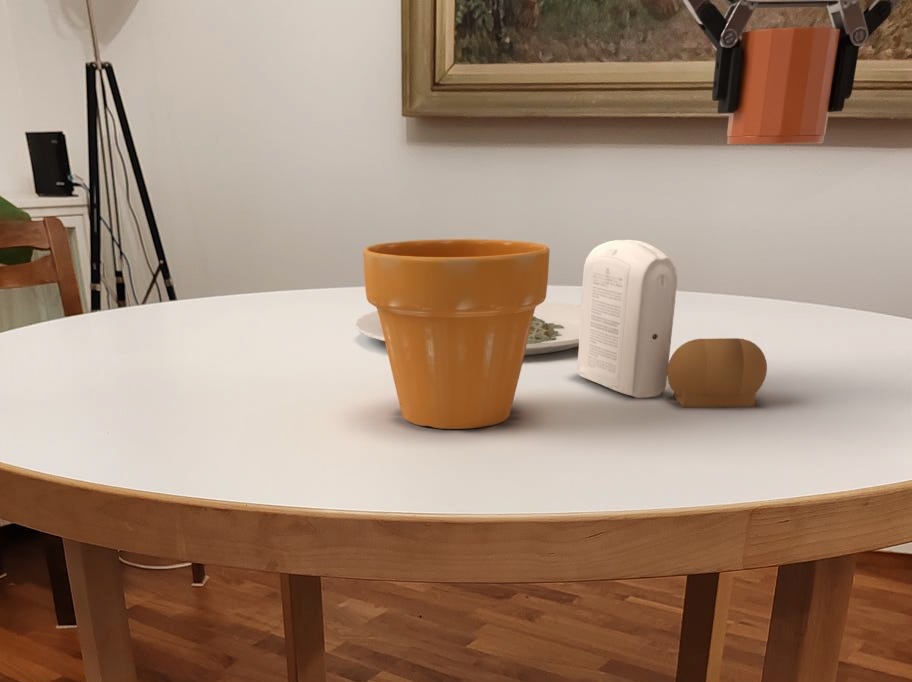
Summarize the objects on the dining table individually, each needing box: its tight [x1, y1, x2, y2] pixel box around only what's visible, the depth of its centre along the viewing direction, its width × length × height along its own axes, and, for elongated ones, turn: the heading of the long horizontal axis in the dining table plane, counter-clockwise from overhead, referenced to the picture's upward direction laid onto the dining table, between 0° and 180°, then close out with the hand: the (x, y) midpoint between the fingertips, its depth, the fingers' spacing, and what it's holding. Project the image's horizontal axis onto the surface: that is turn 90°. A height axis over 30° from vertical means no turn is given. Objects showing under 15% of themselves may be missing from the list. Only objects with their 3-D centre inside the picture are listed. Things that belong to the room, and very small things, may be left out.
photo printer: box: [577, 239, 678, 399], centre depth 87 cm, size 10×4×12 cm, turn 23°
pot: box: [726, 26, 841, 145], centre depth 71 cm, size 7×7×7 cm
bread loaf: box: [667, 337, 768, 408], centre depth 83 cm, size 8×5×5 cm, turn 89°
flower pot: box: [362, 238, 551, 430], centre depth 78 cm, size 14×14×13 cm
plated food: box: [355, 300, 582, 356], centre depth 111 cm, size 30×30×3 cm
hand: (779, 110), depth 71 cm, fingers closed on pot, 6 cm apart
